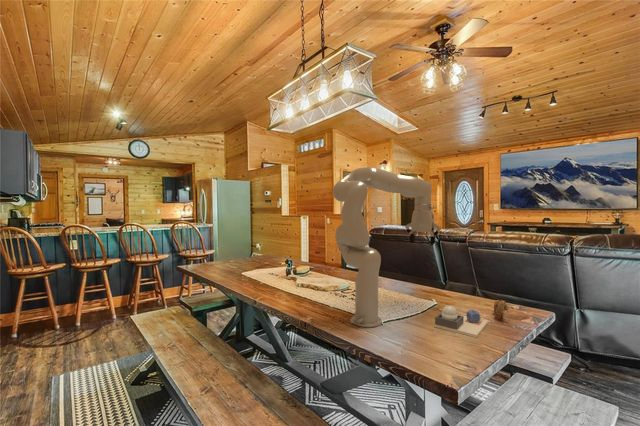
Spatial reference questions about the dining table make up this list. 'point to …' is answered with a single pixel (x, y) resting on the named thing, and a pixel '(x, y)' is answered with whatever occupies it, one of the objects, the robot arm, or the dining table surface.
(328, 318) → the dining table surface
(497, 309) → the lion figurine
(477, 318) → the decorative dice
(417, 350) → the dining table surface
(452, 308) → the dome button
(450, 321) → the game board
